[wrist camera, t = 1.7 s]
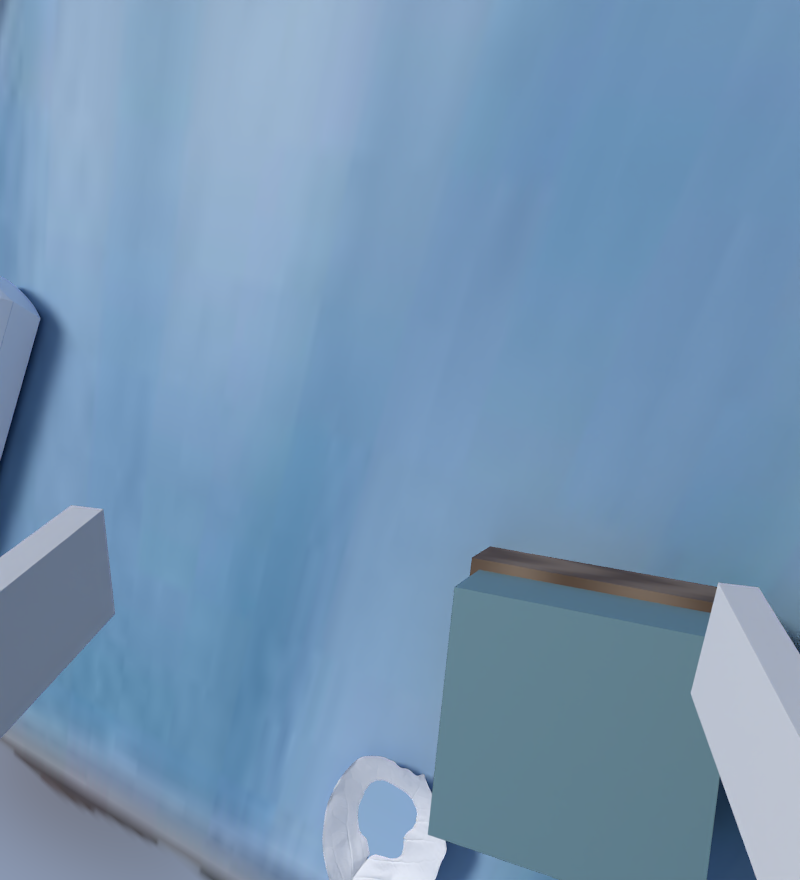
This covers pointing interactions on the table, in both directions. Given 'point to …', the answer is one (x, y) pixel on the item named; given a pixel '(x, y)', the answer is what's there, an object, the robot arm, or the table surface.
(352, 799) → the pale veined leaf
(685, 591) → the tower base
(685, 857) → the grey teal block
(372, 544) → the table surface
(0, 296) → the crystal
